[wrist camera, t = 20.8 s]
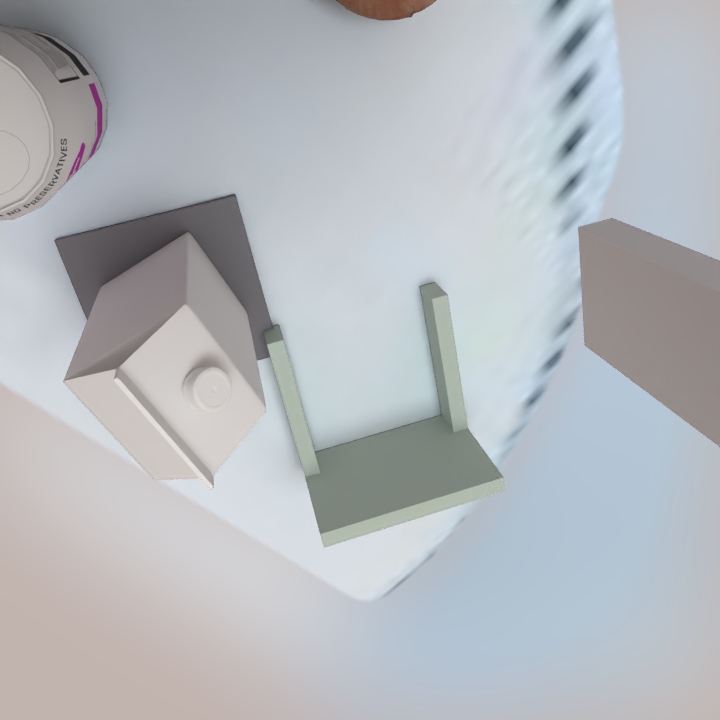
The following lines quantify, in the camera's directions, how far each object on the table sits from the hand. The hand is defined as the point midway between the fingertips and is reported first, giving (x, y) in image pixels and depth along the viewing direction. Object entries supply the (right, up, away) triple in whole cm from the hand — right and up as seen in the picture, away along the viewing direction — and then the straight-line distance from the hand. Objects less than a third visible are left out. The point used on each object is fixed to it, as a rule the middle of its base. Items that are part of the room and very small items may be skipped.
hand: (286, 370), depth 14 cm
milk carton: (-11, +4, +34) cm, 36 cm away
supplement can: (-18, +16, +28) cm, 37 cm away
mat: (-11, +4, +34) cm, 36 cm away
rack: (+2, -1, +40) cm, 40 cm away
